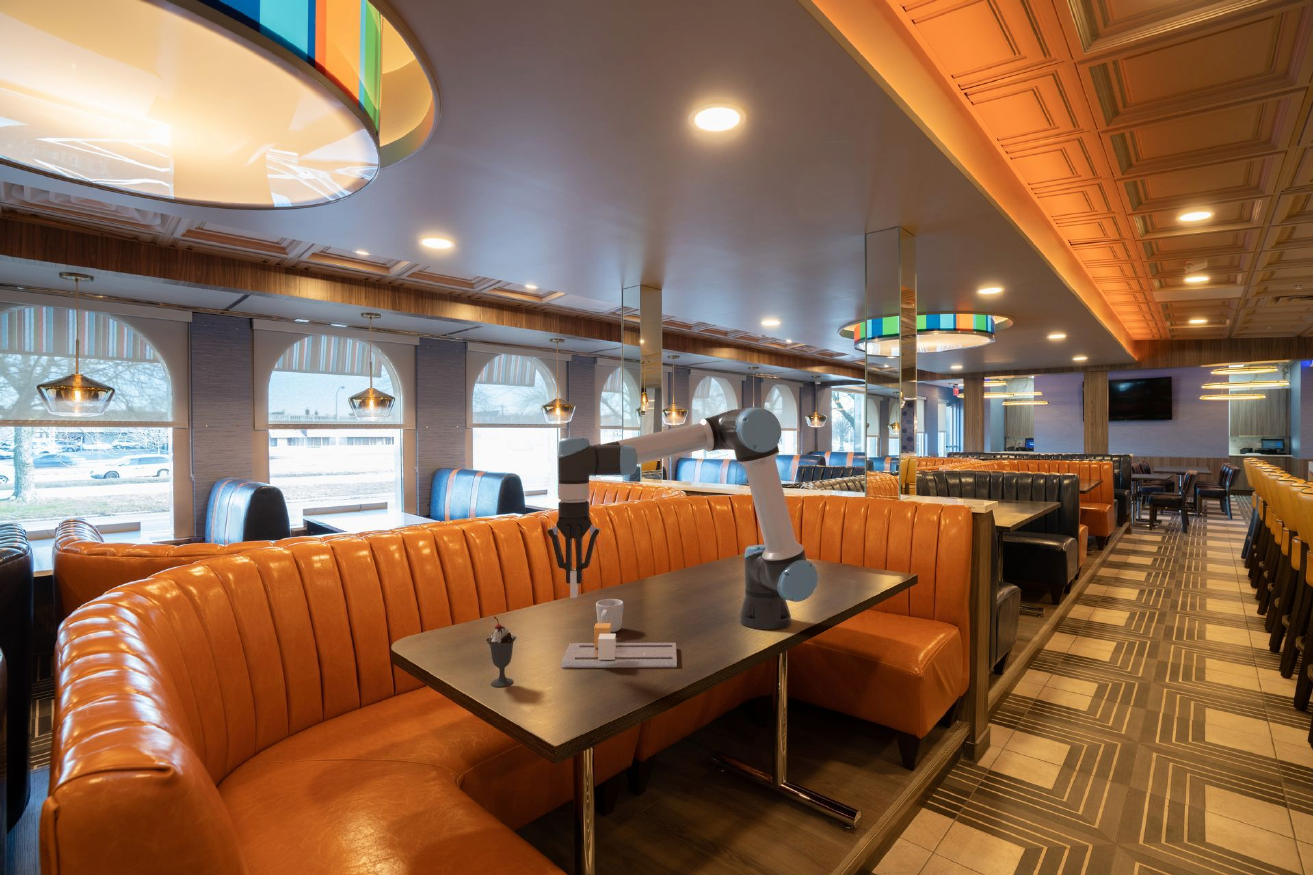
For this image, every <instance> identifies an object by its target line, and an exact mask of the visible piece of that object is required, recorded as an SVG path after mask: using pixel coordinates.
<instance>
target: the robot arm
mask: <svg viewBox="0 0 1313 875" xmlns="http://www.w3.org/2000/svg"><path fill="white" fill-rule="evenodd" d="M781 438H782V427H781V423H780V421H779V419H778V418H777V416H776V415H775V413H773V412H771V411H770V410H768V409H766V408H762V407H755V406H752V407H746V408H739V409H738V408H737V409H731V410H727V411H724V412H722V413H719V414H716V415H713V416H712V415H711V416H709V417H706V418H705V417H704V418H701V419H700V420H698V423H694V424H690V425H686V426H680V427H675V428H671V429H666V430H663V431H658V432H657V431H656V432H652V433H648V434H643V435H639V436H634V437H629V438H624V439H619V440H615V441H611V442H606V443H596V444H593V445H592V444H591V443H590V440H589V438H587V437H563V438H561V439H559V441H558V454H557V459H558V460H557V465H558V466H557V467H558V468H557V469H558V471H557V472H558V482H557V483H558V484H557V486H558V487H557V488H558V489H557V490H558V494H557V495H558V496H557V499H559V500H560V501H559V502H558V505H557V506H558V508H557V509H558V518H557V521H556V522H555V523H556V524H555V525H554V526H553V527H550V528H549V529H547V534H548V536H549V537H550V539H551V542H552V547H553V550H554V554H555V557H556V562H557V566H558V568H559V569H563V570H565V583H566V584H569V586H570V587H569V588H570V589H569V592H570V594H569V598H570V599H577V597H578V596H579V584H582V581H583V570H585V569H587V568H589V567H590V564H591V562H592V561H591V560H592V557H593V556H592V555H593V551H594V546H595V543H596V540H597V537H598V535H599V534H600V532H601V529H600V528H599V527H596V526H594V525H593V524H592V521H591V519H590V518H591V517H590V502H589V501H588V499H590V476H592V477H596V476H622V477H624V476H631V475H634V474H635V473H636V472H637V467H638V465H641V464H645V463H649V462H654V461H658V460H662V459H666V458H667V459H668V458H671V457H675V456H681V455H684V454H689V453H694V452H698V451H701V450H704V451H706V452H707V453H709V452H713V451H714V452H715V451H719V450H721V451H723V450H725V451H729V450H730V451H731V450H732V451H733V452H734V454H735V458H736V462H737V463H738V464H740V465H742V466H743V467H744V470H745V474H746V477H747V478H746V479H747V482H748V486H749V489H750V493H751V497H752V502H753V506H754V509H755V512H756V517H757V520H758V523H759V524H758V525H759V527H760V528H759V529H760V531H761V535H762V540H763V543H764V544H756V545H755V544H754V545H748V546H747V547H745V550H744V558H743V560H744V585H745V586H744V588H745V590H744V591H745V592H744V598H743V601H742V604H741V608H740V610H739V623H740V624H741V625H743V626H745V627H747V628H752V629H758V630H779V629H785V628H787V627H790V626H791V624H792V617H791V612H790V609H789V606H788V603H787V601H790V602H794V603H799V602H803V601H805V600H807V599H809V597H811V596H812V595H813V594H814V593H815V592H814V591H815V589H817V586H818V583H819V574H818V573H819V572H818V570H817V568H816V566H815V565H814V564H813V563H812V562H811V561H809V560H807V559H808V558H807V555H806V552H805V548H804V545H803V544H801V543H799V542H798V541H797V538H796V536H795V531H794V527H793V524H792V520H791V515H790V511H789V507H788V504H787V501H786V496H785V495H786V494H785V492H784V487H783V484H782V481H781V476H780V473H779V468H778V464H777V461H776V459H777V457H778V455H779V454H780V448H779V445H778V444H779V443H780V439H781ZM559 531H560V533H561V535H562V536H563V537H564V543H565V559H564V556H563V552H562V551H563V550H562V547H561V543H560V542H561V541H560V538H559V536H558V534H559ZM588 531H589V535H590V538H589V541H588V546H587V550H586V554H585V558H584V561H583V538H584V536H585V535H586V534H587V532H588ZM573 539H575V562H576V563H575V567H576V568H573Z"/></svg>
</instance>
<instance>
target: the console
mask: <svg viewBox="0 0 1313 875" xmlns="http://www.w3.org/2000/svg"><path fill="white" fill-rule="evenodd" d="M677 663H678V660H677V643H676V642H616V656H615V660H598V647H594V642H569V643H568V646H567V648H566V650H565V652H564V655H563V657H562V659H561V661H560V664H561V665H560V668H561V669H562V668H563V669H564V668H565V669H566V668H567V669H569V668H571V669H572V668H578V669H579V668H581V669H582V668H584V669H585V668H586V669H589V668H591V669H592V668H597V669H598V668H601V669H602V668H604V669H605V668H608V669H609V668H678V664H677Z"/></svg>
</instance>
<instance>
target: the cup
mask: <svg viewBox="0 0 1313 875" xmlns="http://www.w3.org/2000/svg"><path fill="white" fill-rule="evenodd" d="M595 610H596V618H597V623H611V633H615V632H618V631H619V630H621V629H622V624H623V615H624V601H623V600H621V599H617V598H606V599H605V598H604V599H599V600H598V601H596V603H595Z"/></svg>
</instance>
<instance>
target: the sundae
mask: <svg viewBox="0 0 1313 875" xmlns="http://www.w3.org/2000/svg"><path fill="white" fill-rule="evenodd" d="M493 619H495V620H496V621H497V625H495V627H494V631H492V633H491V636H490V637H487V638H486V639H485V640H486V643H487V644H488V645H489V647H490V653H491V661H492V664H493V665H494V666H495V667H496V668H498V670H499V674H498V675H499V676H498V678H497V679H494V680H492V681H491V683H490V685H491V686H492V687H494V688H506V687H508V686H511V685H512V684H514V680H513V679H512V678H510V677H506V673H505V669H506V668H507V666H509V664H510V663H511V661H512V657H513V650H514V649H513V648H514V642H515V641H516V639H517V636H515V635H512V633H511V632H509V629H508V628H507V627H506V626H503V625H502V624H500V623H499V619H498V618H497V616H495V615H494V616H493Z"/></svg>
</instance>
